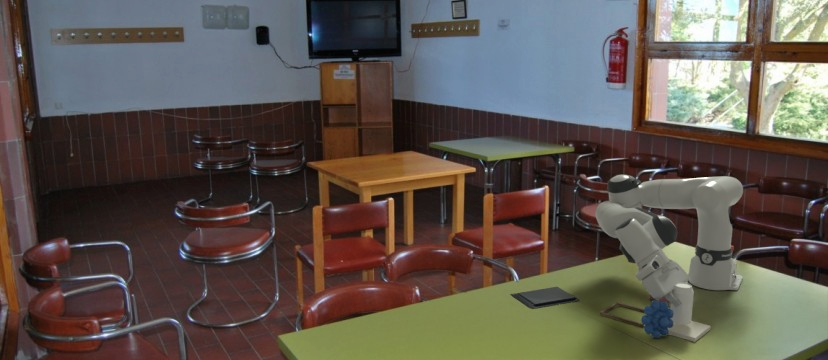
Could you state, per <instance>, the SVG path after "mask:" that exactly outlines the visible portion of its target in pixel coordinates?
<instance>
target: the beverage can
mask: <svg viewBox="0 0 828 360" xmlns="http://www.w3.org/2000/svg"><path fill="white" fill-rule="evenodd" d="M671 292H672V293H673V296H674V297H675V298H676V299H679V301H680V302H681V303H682V304H681V305H680V306H678V307H675V306H674V305H673V303H671V302H670V308H669V309H671V310H672V311H673V313H674V315H673V317H672V318H670V319H672V320H673V323H675V324H678V325H687V324H689V323H690V322H691V321H692V318H693V317H692V316H693V305H694V295H695V294H694V289H693V285H692V284H691V283H687V282H685V283H682V282H679V284H677V285H675V289H674V290H673V291H671Z"/></svg>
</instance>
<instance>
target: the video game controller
mask: <svg viewBox="0 0 828 360" xmlns="http://www.w3.org/2000/svg"><path fill="white" fill-rule="evenodd" d="M649 300H651V301H654V300H656V299H654V298H653V297H652V296H651V295H650V294H649ZM656 301H658V302H666V303H667V304H668V305H669V303H670V304H671V302H670V301H668V300H667V299H666V298H665V297H664V296H663V297H662V298H660V299H659V300H656Z"/></svg>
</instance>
